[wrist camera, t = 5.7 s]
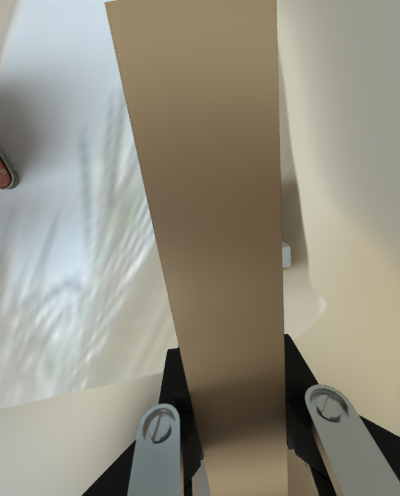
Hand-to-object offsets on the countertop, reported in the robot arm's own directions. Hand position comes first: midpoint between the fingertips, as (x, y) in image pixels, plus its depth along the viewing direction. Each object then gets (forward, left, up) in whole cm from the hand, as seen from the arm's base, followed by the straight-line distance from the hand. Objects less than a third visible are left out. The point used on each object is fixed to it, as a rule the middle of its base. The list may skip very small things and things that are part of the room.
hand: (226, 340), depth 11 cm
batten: (0, 0, -1) cm, 1 cm away
